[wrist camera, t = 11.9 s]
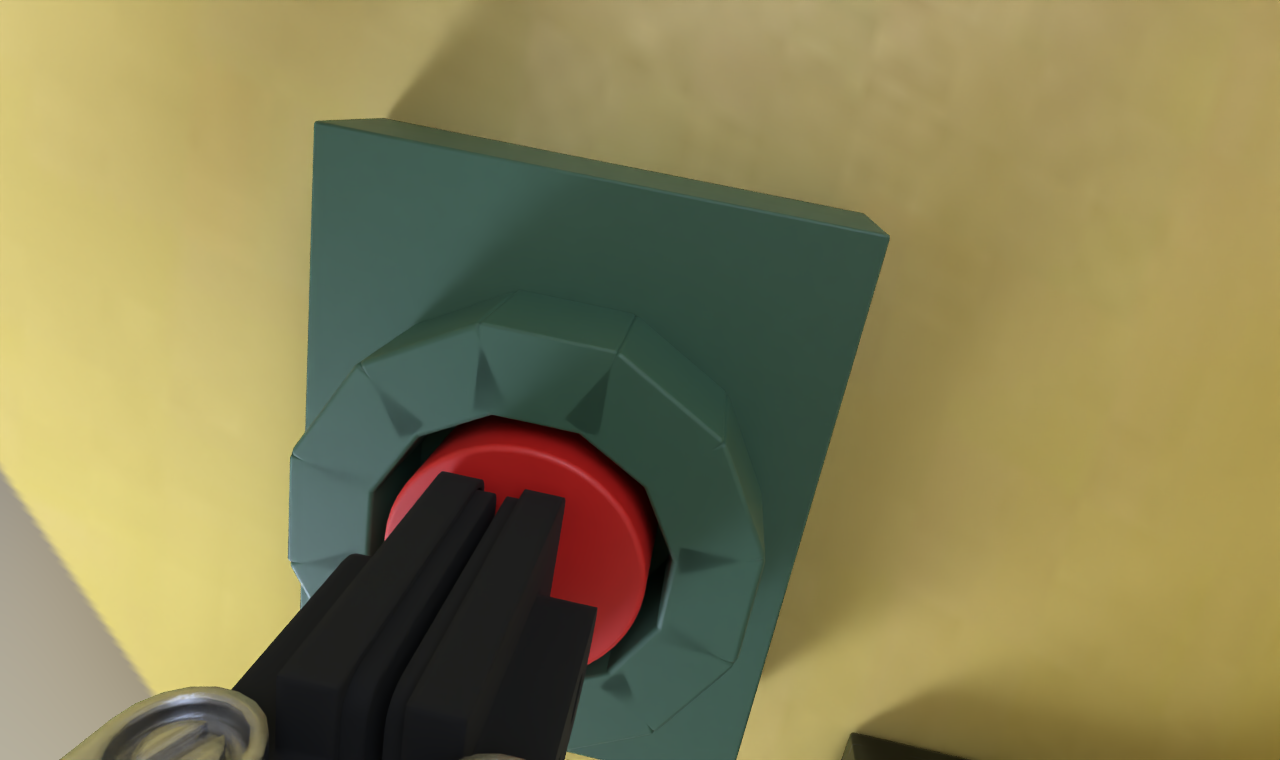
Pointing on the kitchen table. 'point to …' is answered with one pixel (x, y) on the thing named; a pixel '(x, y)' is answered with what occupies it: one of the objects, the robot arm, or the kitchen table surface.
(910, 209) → the kitchen table surface
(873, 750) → the bracket
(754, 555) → the button box
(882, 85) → the kitchen table surface
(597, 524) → the button
